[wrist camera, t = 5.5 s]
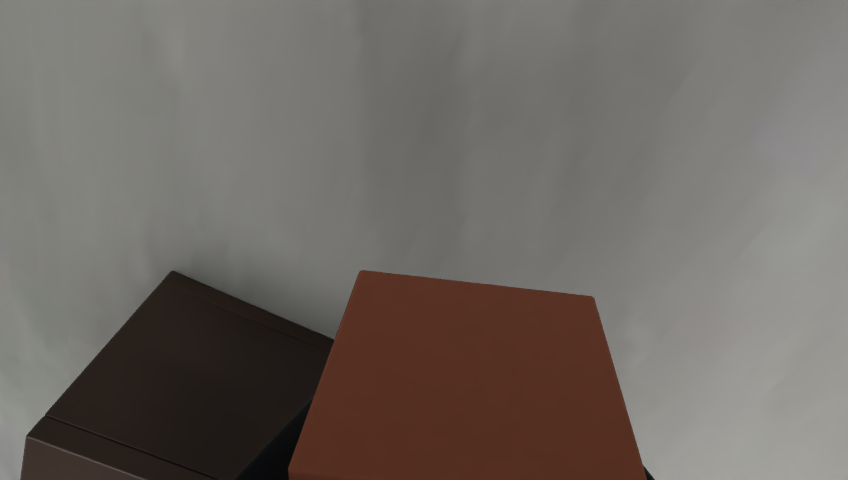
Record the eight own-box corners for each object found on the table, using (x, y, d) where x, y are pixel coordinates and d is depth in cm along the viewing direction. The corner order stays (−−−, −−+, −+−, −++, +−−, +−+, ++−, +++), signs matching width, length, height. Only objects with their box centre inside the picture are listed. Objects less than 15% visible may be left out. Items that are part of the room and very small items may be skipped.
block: (595, 294, 10) (661, 519, 6) (550, 453, 12) (579, 689, 8) (359, 267, 10) (285, 470, 6) (357, 428, 12) (301, 647, 8)
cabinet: (406, 370, 25) (373, 563, 17) (322, 497, 30) (270, 683, 23) (171, 270, 23) (25, 435, 16) (127, 423, 29) (3, 598, 21)
